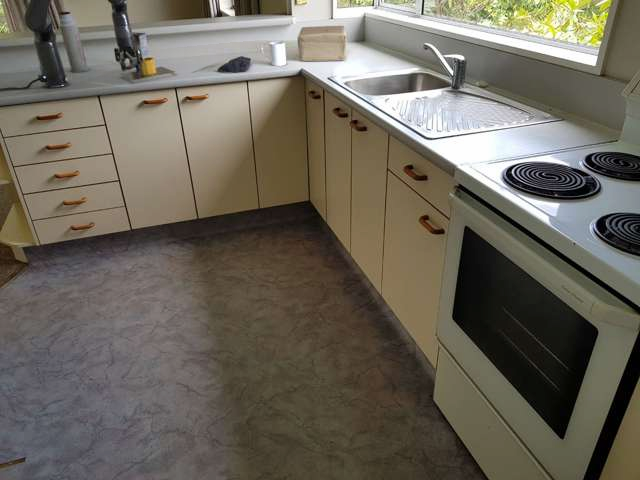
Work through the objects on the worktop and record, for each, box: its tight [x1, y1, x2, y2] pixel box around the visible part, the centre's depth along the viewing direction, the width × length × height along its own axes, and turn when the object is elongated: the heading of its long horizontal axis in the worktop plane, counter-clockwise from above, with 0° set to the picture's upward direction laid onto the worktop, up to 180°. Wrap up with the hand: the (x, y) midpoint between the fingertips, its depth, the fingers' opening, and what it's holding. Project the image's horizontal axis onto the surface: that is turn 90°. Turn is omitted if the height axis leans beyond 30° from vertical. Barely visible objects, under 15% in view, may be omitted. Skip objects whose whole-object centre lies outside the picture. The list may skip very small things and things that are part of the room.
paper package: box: [297, 25, 347, 62], centre depth 275 cm, size 27×26×14 cm
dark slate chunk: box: [217, 55, 252, 73], centre depth 260 cm, size 15×22×5 cm
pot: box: [126, 56, 157, 75], centre depth 245 cm, size 17×8×6 cm, turn 157°
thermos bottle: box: [58, 11, 89, 73], centre depth 257 cm, size 8×8×28 cm
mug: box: [260, 41, 287, 67], centre depth 263 cm, size 12×8×10 cm, turn 87°
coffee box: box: [128, 31, 150, 66], centre depth 267 cm, size 9×6×16 cm
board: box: [120, 66, 175, 81], centre depth 250 cm, size 22×16×2 cm
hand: (131, 71), depth 240 cm, fingers open, 8 cm apart
